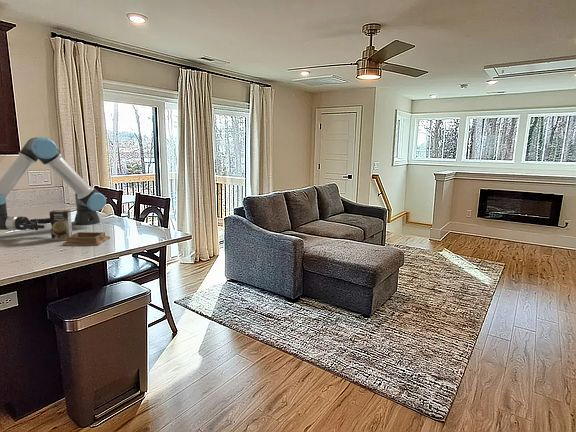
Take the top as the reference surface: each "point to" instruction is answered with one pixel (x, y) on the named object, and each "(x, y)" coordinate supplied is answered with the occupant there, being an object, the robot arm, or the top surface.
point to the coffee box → (60, 224)
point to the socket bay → (87, 238)
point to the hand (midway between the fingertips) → (58, 223)
